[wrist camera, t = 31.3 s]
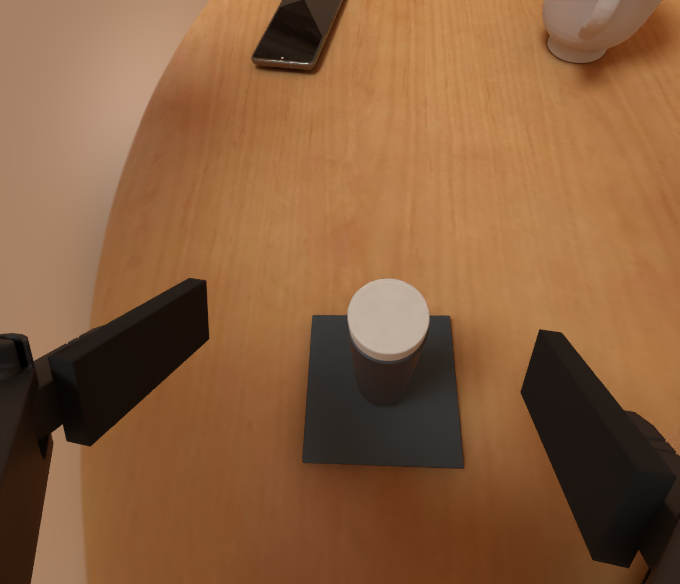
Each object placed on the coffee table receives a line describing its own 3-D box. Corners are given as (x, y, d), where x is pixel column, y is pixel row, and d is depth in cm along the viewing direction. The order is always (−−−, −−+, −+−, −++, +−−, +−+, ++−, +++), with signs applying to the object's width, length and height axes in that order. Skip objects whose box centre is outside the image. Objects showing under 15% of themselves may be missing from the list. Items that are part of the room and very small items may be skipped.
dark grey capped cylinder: (357, 408, 25) (343, 356, 13) (357, 361, 26) (345, 275, 15) (406, 410, 25) (435, 357, 13) (404, 361, 26) (430, 274, 14)
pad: (304, 462, 25) (302, 462, 24) (313, 318, 29) (312, 315, 28) (461, 468, 24) (464, 468, 23) (447, 319, 28) (449, 315, 27)
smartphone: (349, -20, 46) (313, 64, 39) (350, -10, 47) (314, 74, 40) (292, -23, 47) (248, 58, 41) (293, -13, 48) (250, 68, 42)
